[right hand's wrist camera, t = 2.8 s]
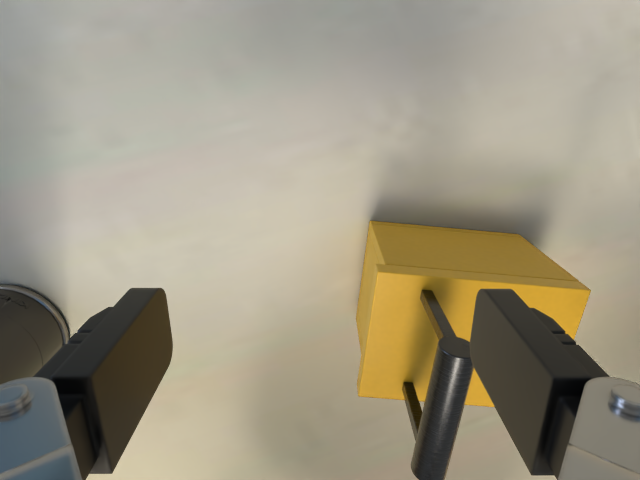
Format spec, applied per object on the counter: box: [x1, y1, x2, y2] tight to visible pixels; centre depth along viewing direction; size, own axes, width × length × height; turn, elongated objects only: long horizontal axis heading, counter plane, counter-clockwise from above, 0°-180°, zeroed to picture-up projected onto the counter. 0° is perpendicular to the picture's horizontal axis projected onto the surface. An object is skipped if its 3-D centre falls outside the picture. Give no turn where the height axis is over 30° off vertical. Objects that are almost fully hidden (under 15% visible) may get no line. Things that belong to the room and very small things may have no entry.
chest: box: [356, 221, 579, 354], centre depth 34 cm, size 13×10×9 cm
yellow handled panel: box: [357, 264, 591, 480], centre depth 25 cm, size 14×10×9 cm
